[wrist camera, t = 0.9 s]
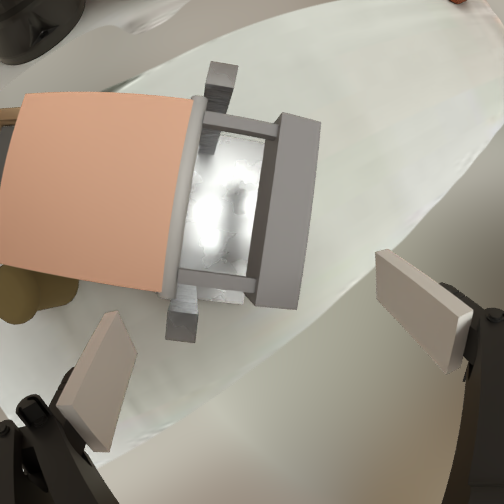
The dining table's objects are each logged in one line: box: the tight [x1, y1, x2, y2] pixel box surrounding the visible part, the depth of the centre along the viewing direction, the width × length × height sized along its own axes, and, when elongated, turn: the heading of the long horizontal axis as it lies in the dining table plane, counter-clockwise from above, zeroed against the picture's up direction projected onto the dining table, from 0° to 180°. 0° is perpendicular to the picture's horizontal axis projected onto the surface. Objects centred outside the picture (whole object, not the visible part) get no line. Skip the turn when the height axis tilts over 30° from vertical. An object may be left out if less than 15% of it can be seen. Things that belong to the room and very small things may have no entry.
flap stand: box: [156, 61, 265, 343], centre depth 24 cm, size 9×17×16 cm, turn 172°
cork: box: [0, 265, 79, 325], centre depth 23 cm, size 6×6×11 cm
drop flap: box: [0, 92, 321, 310], centre depth 17 cm, size 19×12×4 cm, turn 82°
